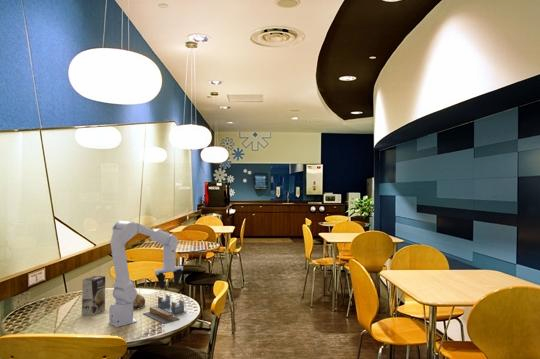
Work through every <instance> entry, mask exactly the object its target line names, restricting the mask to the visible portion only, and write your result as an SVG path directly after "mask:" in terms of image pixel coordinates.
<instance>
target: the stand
mask: <svg viewBox="0 0 540 359" xmlns="http://www.w3.org/2000/svg"><path fill="white" fill-rule="evenodd" d="M155 307H157V308H160V309H162V310H164V311H167V312H169V313H171V314H173V316H175V317H176V316H178V315H182V313H183V314H186V313H187V311H186V310H185V300H183V299H179V301H178V304H177V302H176V301H173V300H172V301H171V295H169V294H165V298H164V297H163V296H161V295H158V296H157V305H156V306H155Z"/></svg>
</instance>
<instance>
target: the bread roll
mask: <svg viewBox="0 0 540 359" xmlns="http://www.w3.org/2000/svg"><path fill="white" fill-rule="evenodd" d="M145 305H146V299H145V297H144V296H143V295H142V294H139V293H137V296H136V299H135V300H134V302H133V310H138V308H139V309H142V308H144V307H145ZM141 307H142V308H141Z"/></svg>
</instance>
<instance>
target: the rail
mask: <svg viewBox="0 0 540 359" xmlns="http://www.w3.org/2000/svg"><path fill="white" fill-rule="evenodd" d="M149 312H150V313H152V314H154V315H156V316H158V317H161V318H163V319H165V320H167V321H169V320H173V316H174V315H173V314H171V313H169V312H167V311H164V310H162V309H160V308H157V307H156V306H155V305H153V306H150V307H149Z"/></svg>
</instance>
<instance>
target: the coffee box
mask: <svg viewBox="0 0 540 359" xmlns="http://www.w3.org/2000/svg"><path fill="white" fill-rule="evenodd" d="M81 286H82V293H81V315H87V316H95V315H97V314H99V313H101V312H103V311H106V276H103V275H92V276H90V277H87V278H85V279H82V285H81Z"/></svg>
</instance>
